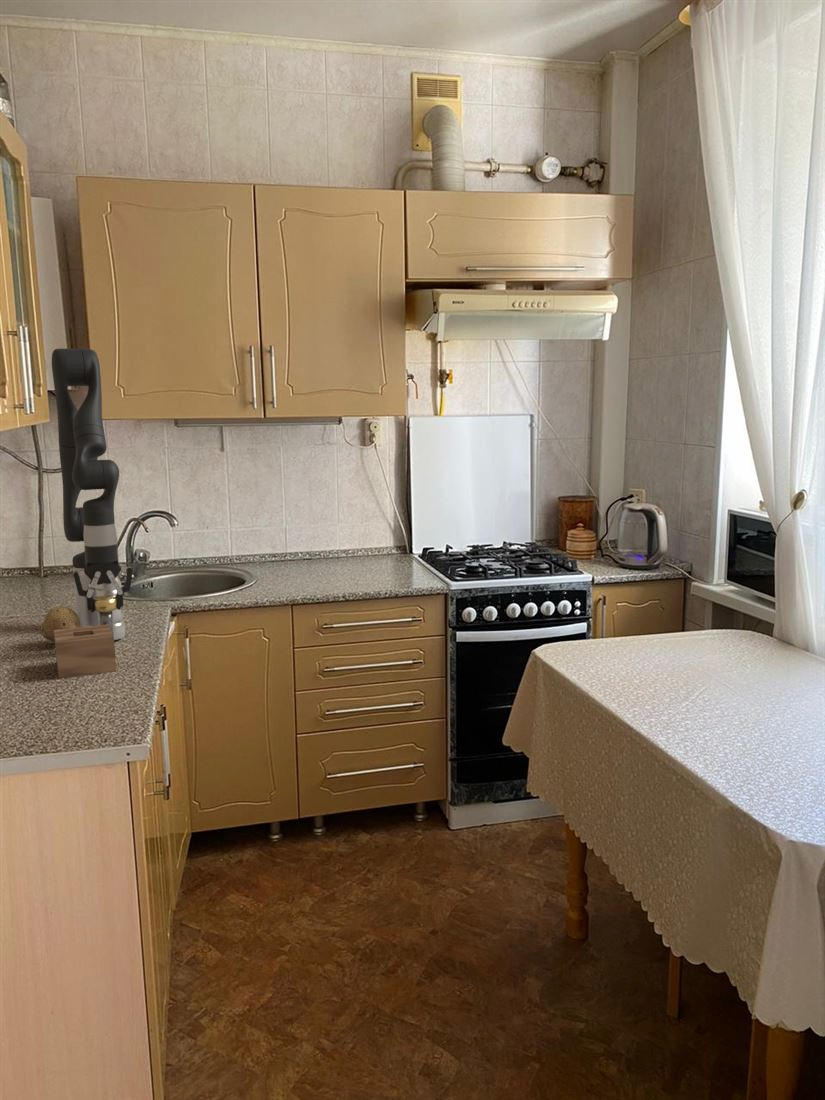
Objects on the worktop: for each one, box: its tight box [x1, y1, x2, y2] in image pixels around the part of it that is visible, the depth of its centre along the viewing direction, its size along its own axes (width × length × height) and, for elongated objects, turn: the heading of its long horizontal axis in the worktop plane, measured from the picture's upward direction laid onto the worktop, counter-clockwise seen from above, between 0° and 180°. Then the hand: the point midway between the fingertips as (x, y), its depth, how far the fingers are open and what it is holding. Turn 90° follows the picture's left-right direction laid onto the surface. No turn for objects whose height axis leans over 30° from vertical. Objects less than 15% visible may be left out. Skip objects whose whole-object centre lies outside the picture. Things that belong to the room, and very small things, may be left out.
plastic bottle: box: [95, 576, 126, 641], centre depth 214 cm, size 6×7×20 cm
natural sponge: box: [40, 605, 80, 644], centre depth 211 cm, size 9×9×10 cm
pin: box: [93, 596, 118, 636], centre depth 205 cm, size 6×6×10 cm
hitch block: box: [54, 624, 117, 679], centre depth 191 cm, size 13×12×8 cm
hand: (105, 610), depth 205 cm, fingers closed on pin, 5 cm apart
